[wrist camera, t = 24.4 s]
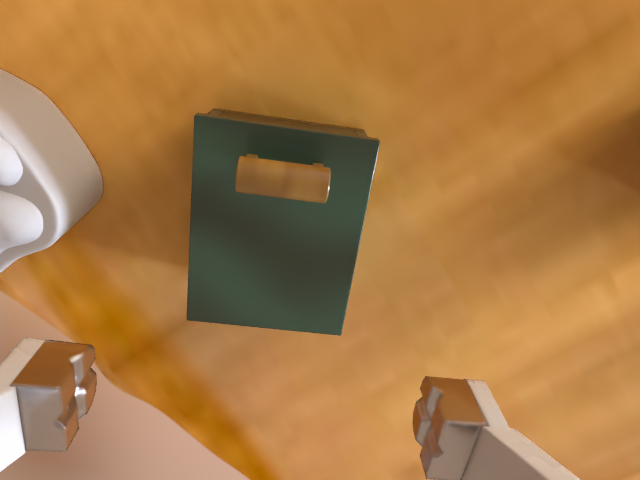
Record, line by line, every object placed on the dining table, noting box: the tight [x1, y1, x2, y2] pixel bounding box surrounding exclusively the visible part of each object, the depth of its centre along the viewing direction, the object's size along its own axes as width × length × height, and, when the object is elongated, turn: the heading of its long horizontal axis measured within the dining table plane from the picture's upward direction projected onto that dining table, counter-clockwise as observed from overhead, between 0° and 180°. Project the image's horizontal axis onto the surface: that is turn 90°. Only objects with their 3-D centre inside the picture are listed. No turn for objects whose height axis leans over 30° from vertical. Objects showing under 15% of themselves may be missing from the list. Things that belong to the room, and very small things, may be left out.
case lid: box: [187, 113, 380, 335], centre depth 30 cm, size 14×11×5 cm
